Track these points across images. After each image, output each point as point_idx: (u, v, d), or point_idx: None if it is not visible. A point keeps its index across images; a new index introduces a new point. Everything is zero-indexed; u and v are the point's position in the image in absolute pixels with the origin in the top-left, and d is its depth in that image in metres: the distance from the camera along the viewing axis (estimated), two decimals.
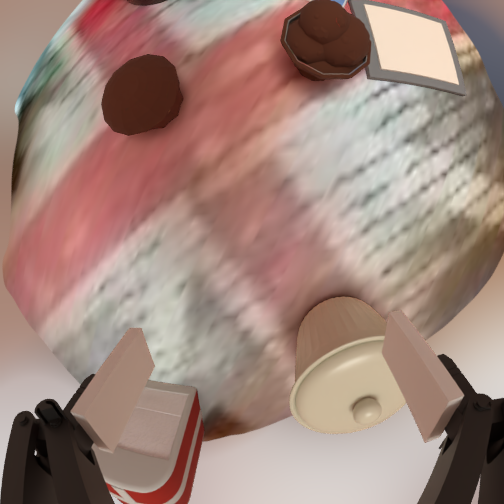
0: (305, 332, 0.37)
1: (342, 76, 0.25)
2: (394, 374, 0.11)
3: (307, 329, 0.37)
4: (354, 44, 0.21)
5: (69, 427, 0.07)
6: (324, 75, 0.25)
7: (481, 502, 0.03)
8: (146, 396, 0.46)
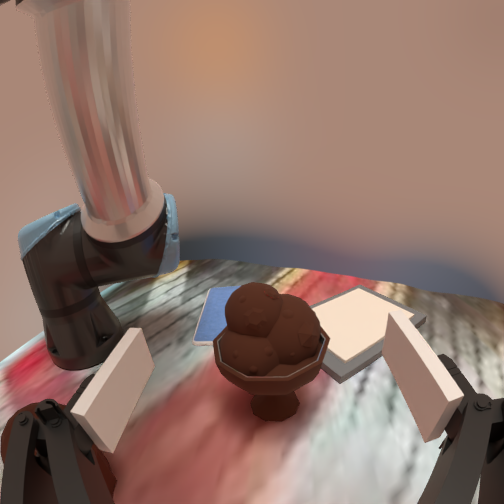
0: None
1: (311, 366, 0.21)
2: (395, 374, 0.11)
3: None
4: (300, 314, 0.22)
5: (69, 427, 0.07)
6: (289, 377, 0.20)
7: (481, 502, 0.03)
8: None
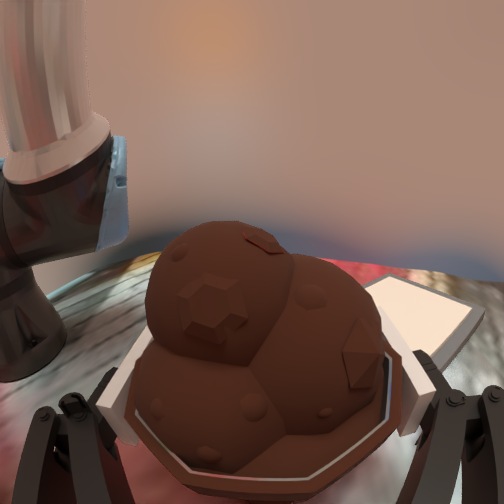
0: None
1: (375, 441, 0.06)
2: None
3: None
4: (344, 297, 0.08)
5: (94, 422, 0.07)
6: (316, 480, 0.05)
7: (465, 500, 0.04)
8: None
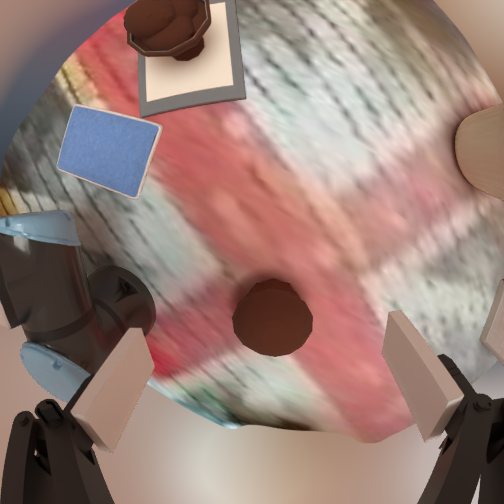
0: (487, 190, 0.30)
1: (208, 5, 0.21)
2: (395, 374, 0.11)
3: (484, 188, 0.30)
4: None
5: (69, 427, 0.07)
6: (208, 17, 0.22)
7: (481, 501, 0.03)
8: (499, 326, 0.39)
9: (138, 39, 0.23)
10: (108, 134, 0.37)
